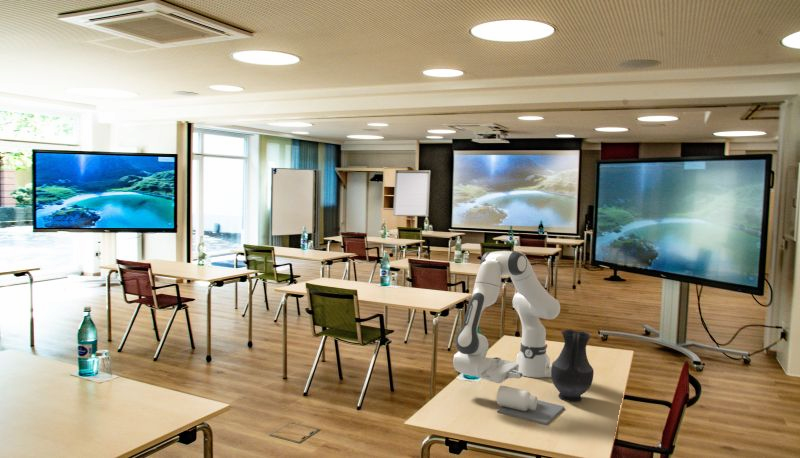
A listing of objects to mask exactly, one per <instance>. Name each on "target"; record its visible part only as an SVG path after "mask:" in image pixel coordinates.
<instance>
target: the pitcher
mask: <svg viewBox="0 0 800 458" xmlns="http://www.w3.org/2000/svg"><path fill="white" fill-rule="evenodd" d="M561 336H562V337H563V340H564V345H563V348H562V349H561V352H560V353H559V355H558V357H557V358H556V359H555V360H554V361H553V362H552V363H551V367H552V368H551V377H550V378H551V381H552V383H553V386H554V387H555V388H556V389H557V391H558V392H559V394H558V398H559V399H560V400H561V401H562V400H563V401H565V402H570V403H578V402H582V400H583V398H582V395H584V394H585V393H586V392H587V391H589V389H590V388H591V386H592V384H593V381H594V368H593V366H592V365H591V363H590V362H589V359H588V355H587V344H588V342H589V341H590V338H591V337H592V335H591V334H590V333H589V332H587V331H583V330H581V331H578V330H573V329H565V330H562V331H561Z"/></svg>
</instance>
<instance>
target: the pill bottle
mask: <svg viewBox="0 0 800 458" xmlns="http://www.w3.org/2000/svg"><path fill="white" fill-rule="evenodd" d="M537 400H538V397H537V396H535V395H531V393H530V391H528V390H525V389H522V388H521V389H520V388H516V387H515V388H514V387H510V386H505V385H500V386H499V387H498V389H497V392H496V404H497V405H498V406H501V407H503V406H504V407H508V408H512V409H517V410H521V411H527V410H528V409H531V410H535V409H536V406H537Z"/></svg>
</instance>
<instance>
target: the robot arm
mask: <svg viewBox="0 0 800 458" xmlns="http://www.w3.org/2000/svg"><path fill="white" fill-rule="evenodd" d="M502 276H509V277H510V280H511V282H512V284H513V286H514V289H515V290H516V293H515V294H514V295H513V298H512V302H511V303H512V307H513V309H514V310H515V311H516V313H517V314H518V316H519V320H520V323H521V343H520V346H519V347H520V349H519V350H520V351H519V352H518V353H517V355H516V360H515V362H514V361H511V360H508V359H502V357H499V356H498V357H487V353H488V351H489V347H490V344H489V340H488V338H487V337H486V336H485V335H483V334H481V333H479V332H478V327H479V324H480V320H481V317H482V313H483V311H484V310H485V309H486V308H487V307H491V306H492V305H494V304H495V303H496V302H497V300H498V297H499V294H500V289H501V284H502ZM560 312H561V305H560V302H559V300H558V299H556V298H555V297H553V296H552V295H551V294H550V293H549V292H548V291H547V290H546V289H545V287H544V286H543V285H542V284H541V283H540V281H539V279H538V277H537V275H536V273H535V271H534V269H533V267H532V265H531V262H530V261H529V259H528V257H527V256H526V255H525V254H524V252H521V251H512V250H511V251H510V250H497V251H491V250H490V251H488V252H485V253H483V255H482V256H481V259H480V265H479V267H478V270H477V274H476V277H475V282H474V285H473V290H472V293H471V296H470V299H469V301H468V304H467V308H466V310H465V315H464V318H463V322H462V324H461V327H460V329H459V331H458V332H457V334H456V336H455V338H454V345H455V347H456V349H457V352H456V353H454V355H453V359H452V365H453V369H454V370H455V371H457V372H458V373H460V374H462V375H466V376H471V377H478V378H479V379H484V380H487V381H489V382H492V383H496V384H502V383H504V382H505V381H506V380H508V379H521V378H522V377H528V378H538V379H539V378H552V377H551V368H552V365H550V363H551V358H550V357H549V355H548V354H547V348H548V344H547V343H546V337H547V335H546V333H547V330H546V327H545V326H544V325H543V324H542V322H541V320H540V319H544V320H554V319H555V318H557V317H558V316H559V315H560Z"/></svg>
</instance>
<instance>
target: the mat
mask: <svg viewBox="0 0 800 458" xmlns="http://www.w3.org/2000/svg"><path fill="white" fill-rule="evenodd" d="M564 409H565V406H564V405H560V404H556V403H553V402H547V401H544V400H539V399H537V406H536V409H535V410H531V409H528V410H527V411H521V410H517V409H512V408H508V407H504V406H501V407H500V408H499V409H497V411H496V412H497V413H498V414H502V415H505V416H510V417H513V418H518V419H521V420H525V421H529V422H533V423H537V424H541V425H545V426H548V424H550V422H552V420H554V419H555V418H556V417H557V416H558V415H559V414H560V413H561V412H562V411H564Z"/></svg>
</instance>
